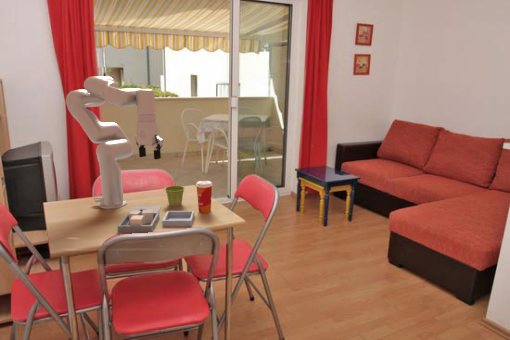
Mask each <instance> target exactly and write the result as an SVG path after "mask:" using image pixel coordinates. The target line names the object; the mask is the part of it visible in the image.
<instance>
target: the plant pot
mask: <svg viewBox="0 0 510 340" xmlns="http://www.w3.org/2000/svg"><path fill="white" fill-rule="evenodd" d="M184 190H185V187H184V186H183V185H171V186H166V187H165V188H164V191H165V193H166V196H167V201H168V206H170V207H178V206H179V207H180V206H182V205H183V195H184Z"/></svg>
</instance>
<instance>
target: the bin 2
mask: <svg viewBox="0 0 510 340" xmlns="http://www.w3.org/2000/svg"><path fill="white" fill-rule="evenodd" d="M194 218H195V210H167V211H166V213H165V214H164V217H163V218H162V222H161V223H162V227H192V225H193V223H194Z"/></svg>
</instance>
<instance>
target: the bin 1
mask: <svg viewBox="0 0 510 340" xmlns="http://www.w3.org/2000/svg"><path fill="white" fill-rule="evenodd" d="M127 213H128V212H127ZM127 213H126V214H127ZM126 214H125V215H126ZM125 215H124V217H123V219H122V220H121V221H120V222H119V224H118V225H117V232H118V233H146V232H147V233H149V232H150V233H152V232H153V231H154V229H155V228H156V226H157V223H158V222H159V220H160V212H158V213H154V219H153V221H152V223H144V225H132V226H131V225H130V223H129V213H128V214H127V215H126V216H125Z"/></svg>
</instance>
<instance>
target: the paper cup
mask: <svg viewBox="0 0 510 340" xmlns="http://www.w3.org/2000/svg"><path fill="white" fill-rule="evenodd" d="M195 186H196V194H197V195H196V196H197V207H198V213H201V214H208V213H210V212H211V211H212V194H213V193H212V192H213V191H212V189H213V182H212V181H209V180H199V181H197V182H196V183H195Z"/></svg>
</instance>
